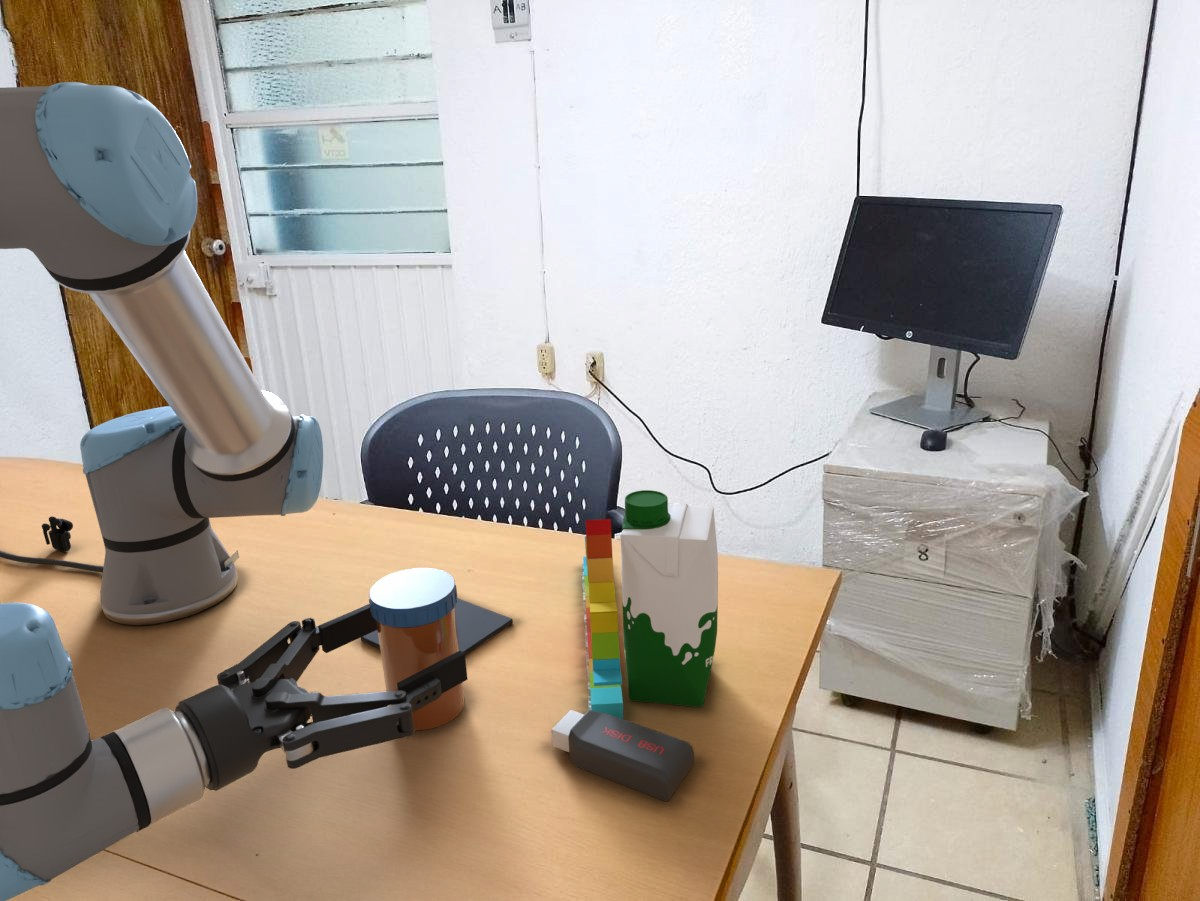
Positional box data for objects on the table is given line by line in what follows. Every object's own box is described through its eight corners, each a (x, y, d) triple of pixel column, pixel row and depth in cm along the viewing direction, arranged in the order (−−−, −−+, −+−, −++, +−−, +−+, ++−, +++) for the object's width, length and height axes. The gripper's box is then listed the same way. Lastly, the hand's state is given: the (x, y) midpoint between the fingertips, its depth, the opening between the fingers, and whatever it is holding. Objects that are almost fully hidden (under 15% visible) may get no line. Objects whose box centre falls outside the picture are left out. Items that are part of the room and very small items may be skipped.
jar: (373, 712, 80) (356, 598, 76) (429, 676, 85) (415, 566, 81) (425, 740, 76) (409, 620, 72) (479, 699, 81) (468, 586, 77)
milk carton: (633, 654, 88) (628, 479, 81) (719, 662, 86) (722, 483, 79) (618, 706, 80) (612, 516, 73) (713, 715, 78) (715, 521, 71)
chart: (581, 570, 106) (576, 460, 101) (606, 568, 106) (602, 459, 101) (589, 722, 78) (582, 580, 73) (623, 720, 78) (619, 578, 73)
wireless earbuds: (44, 547, 118) (34, 515, 117) (62, 540, 120) (53, 508, 119) (70, 557, 115) (61, 524, 113) (88, 550, 117) (79, 518, 115)
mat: (360, 640, 92) (360, 636, 92) (439, 595, 101) (439, 590, 101) (436, 675, 86) (435, 670, 85) (513, 623, 95) (512, 618, 94)
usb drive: (667, 802, 68) (667, 775, 67) (546, 754, 74) (544, 729, 73) (694, 763, 72) (694, 737, 71) (577, 721, 78) (576, 696, 77)
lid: (353, 611, 76) (350, 593, 76) (418, 577, 82) (416, 560, 82) (410, 637, 72) (408, 618, 71) (474, 599, 78) (473, 581, 77)
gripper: (145, 720, 74) (357, 625, 88) (269, 875, 57) (507, 727, 71) (126, 648, 71) (348, 562, 86) (250, 788, 55) (500, 652, 69)
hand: (421, 637), depth 79 cm, fingers open, 13 cm apart
